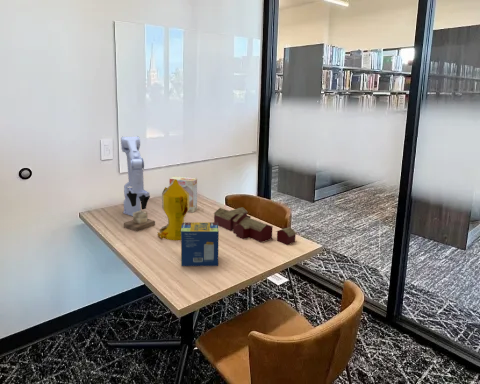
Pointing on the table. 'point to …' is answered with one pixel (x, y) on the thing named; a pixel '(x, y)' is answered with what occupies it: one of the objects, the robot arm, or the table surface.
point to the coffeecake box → (188, 190)
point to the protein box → (199, 244)
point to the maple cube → (140, 217)
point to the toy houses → (250, 226)
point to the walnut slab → (139, 225)
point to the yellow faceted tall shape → (174, 210)
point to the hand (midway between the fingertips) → (138, 207)
